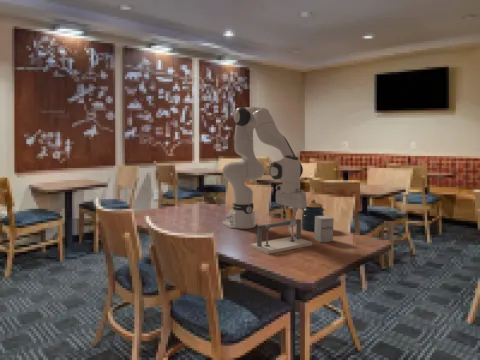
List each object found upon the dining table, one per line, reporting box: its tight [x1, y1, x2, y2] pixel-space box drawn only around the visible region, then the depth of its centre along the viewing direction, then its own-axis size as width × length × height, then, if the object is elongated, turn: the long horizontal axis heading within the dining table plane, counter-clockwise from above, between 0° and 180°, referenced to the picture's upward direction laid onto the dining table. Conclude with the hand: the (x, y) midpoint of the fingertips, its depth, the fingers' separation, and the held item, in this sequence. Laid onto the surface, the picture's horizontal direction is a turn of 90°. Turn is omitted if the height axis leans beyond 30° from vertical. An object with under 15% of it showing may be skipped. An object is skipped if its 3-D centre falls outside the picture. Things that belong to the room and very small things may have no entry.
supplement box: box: [313, 215, 335, 243], centre depth 207 cm, size 7×7×13 cm
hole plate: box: [249, 218, 313, 255], centre depth 197 cm, size 14×28×12 cm, turn 123°
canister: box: [301, 198, 325, 232], centre depth 233 cm, size 13×13×18 cm
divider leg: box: [284, 207, 297, 240], centre depth 201 cm, size 4×4×16 cm
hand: (290, 215), depth 201 cm, fingers closed on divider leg, 3 cm apart
